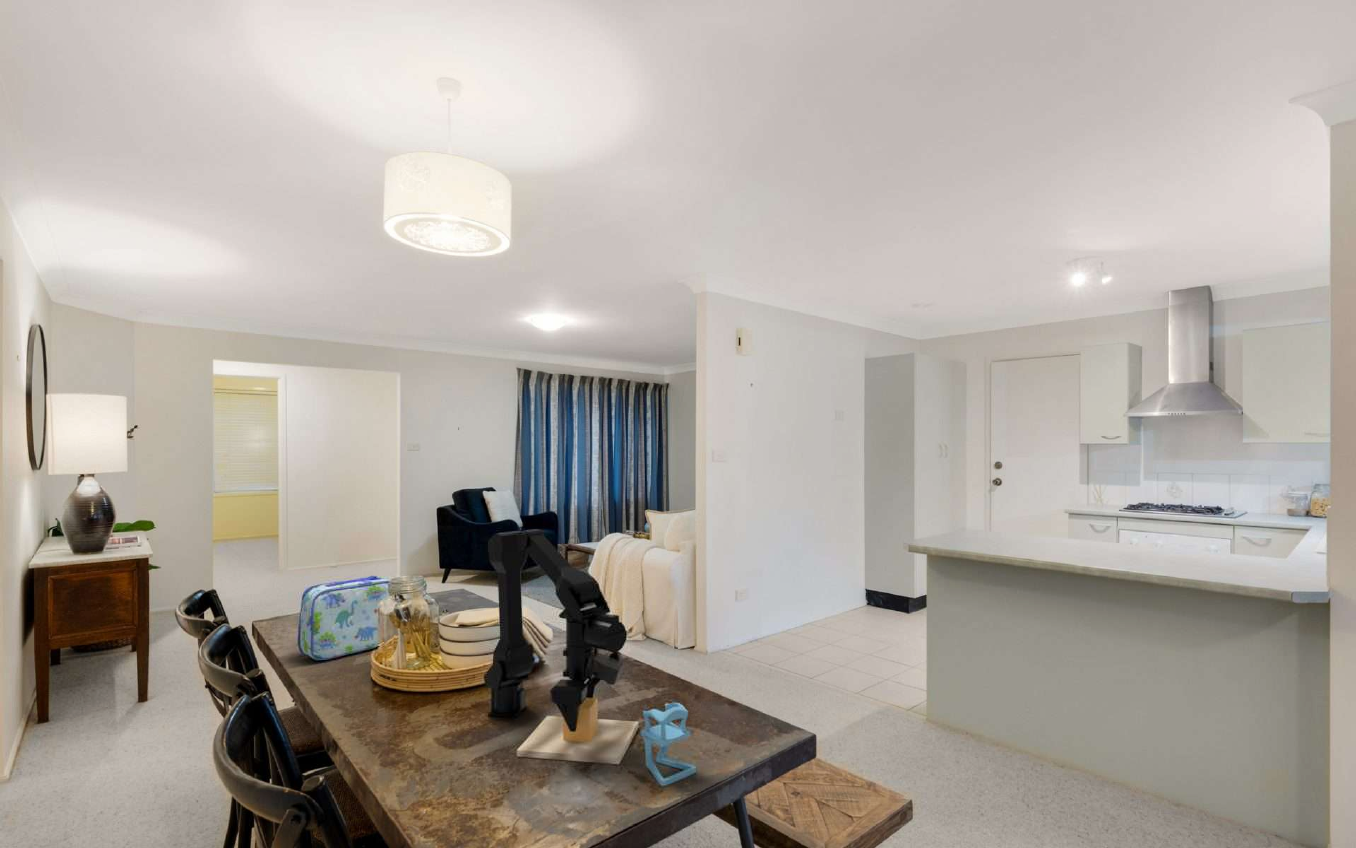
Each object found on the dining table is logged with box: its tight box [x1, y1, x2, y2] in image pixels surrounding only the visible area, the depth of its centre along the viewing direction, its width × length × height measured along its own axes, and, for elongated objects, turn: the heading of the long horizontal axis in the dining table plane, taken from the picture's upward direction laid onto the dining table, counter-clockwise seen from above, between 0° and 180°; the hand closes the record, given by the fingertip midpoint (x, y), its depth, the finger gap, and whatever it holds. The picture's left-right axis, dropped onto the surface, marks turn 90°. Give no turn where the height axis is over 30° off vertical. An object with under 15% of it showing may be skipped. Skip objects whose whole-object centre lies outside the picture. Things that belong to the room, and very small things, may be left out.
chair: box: [640, 702, 697, 787], centre depth 118 cm, size 8×8×12 cm
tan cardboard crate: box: [563, 697, 599, 742], centre depth 130 cm, size 5×5×6 cm
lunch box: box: [297, 575, 392, 661], centre depth 190 cm, size 26×11×21 cm, turn 141°
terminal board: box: [516, 715, 639, 765], centre depth 130 cm, size 20×16×5 cm
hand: (580, 721), depth 130 cm, fingers open, 9 cm apart
